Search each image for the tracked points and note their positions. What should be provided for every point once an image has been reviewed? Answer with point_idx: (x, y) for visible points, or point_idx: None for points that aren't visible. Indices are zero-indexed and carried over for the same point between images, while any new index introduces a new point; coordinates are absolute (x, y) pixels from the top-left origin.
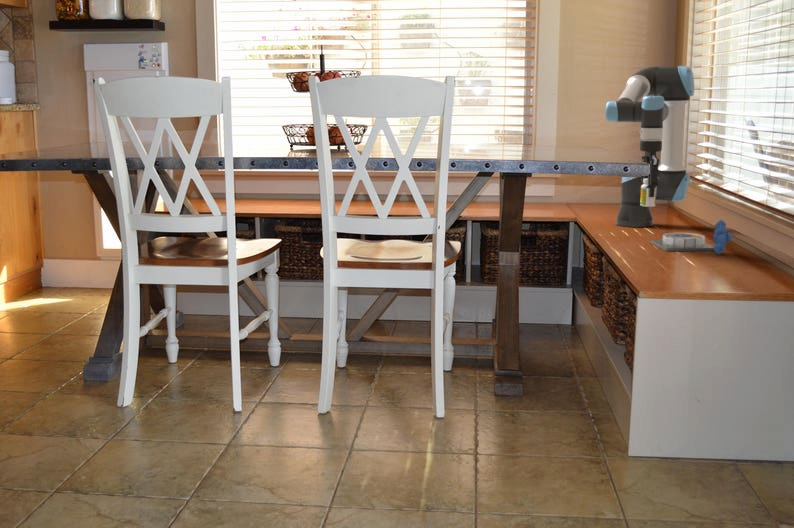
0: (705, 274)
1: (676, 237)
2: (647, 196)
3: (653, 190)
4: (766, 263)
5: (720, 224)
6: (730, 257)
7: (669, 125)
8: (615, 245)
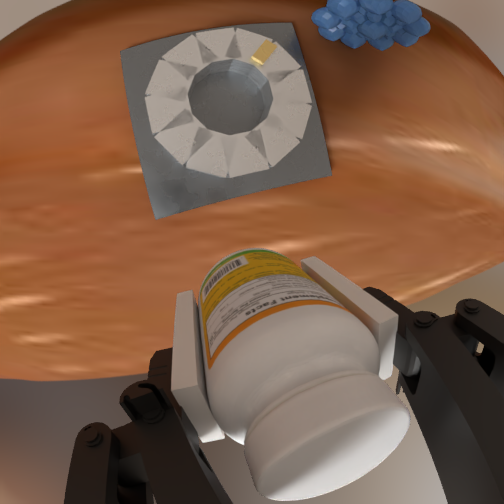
0: (496, 153)
1: (286, 129)
2: None
3: (408, 315)
4: None
5: (418, 19)
6: None
7: None
8: None
